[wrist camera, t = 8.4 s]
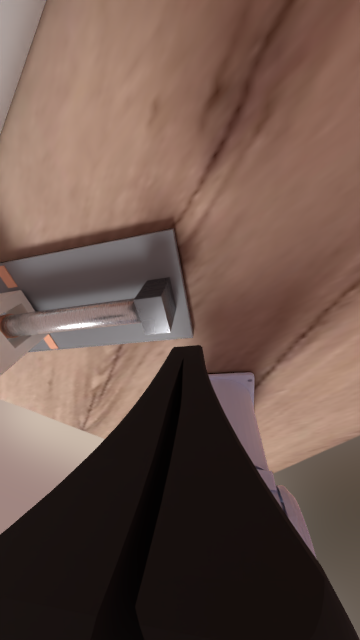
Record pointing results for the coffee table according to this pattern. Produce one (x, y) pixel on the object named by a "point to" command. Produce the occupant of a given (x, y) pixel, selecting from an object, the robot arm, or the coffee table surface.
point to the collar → (8, 352)
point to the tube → (15, 45)
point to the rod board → (100, 294)
